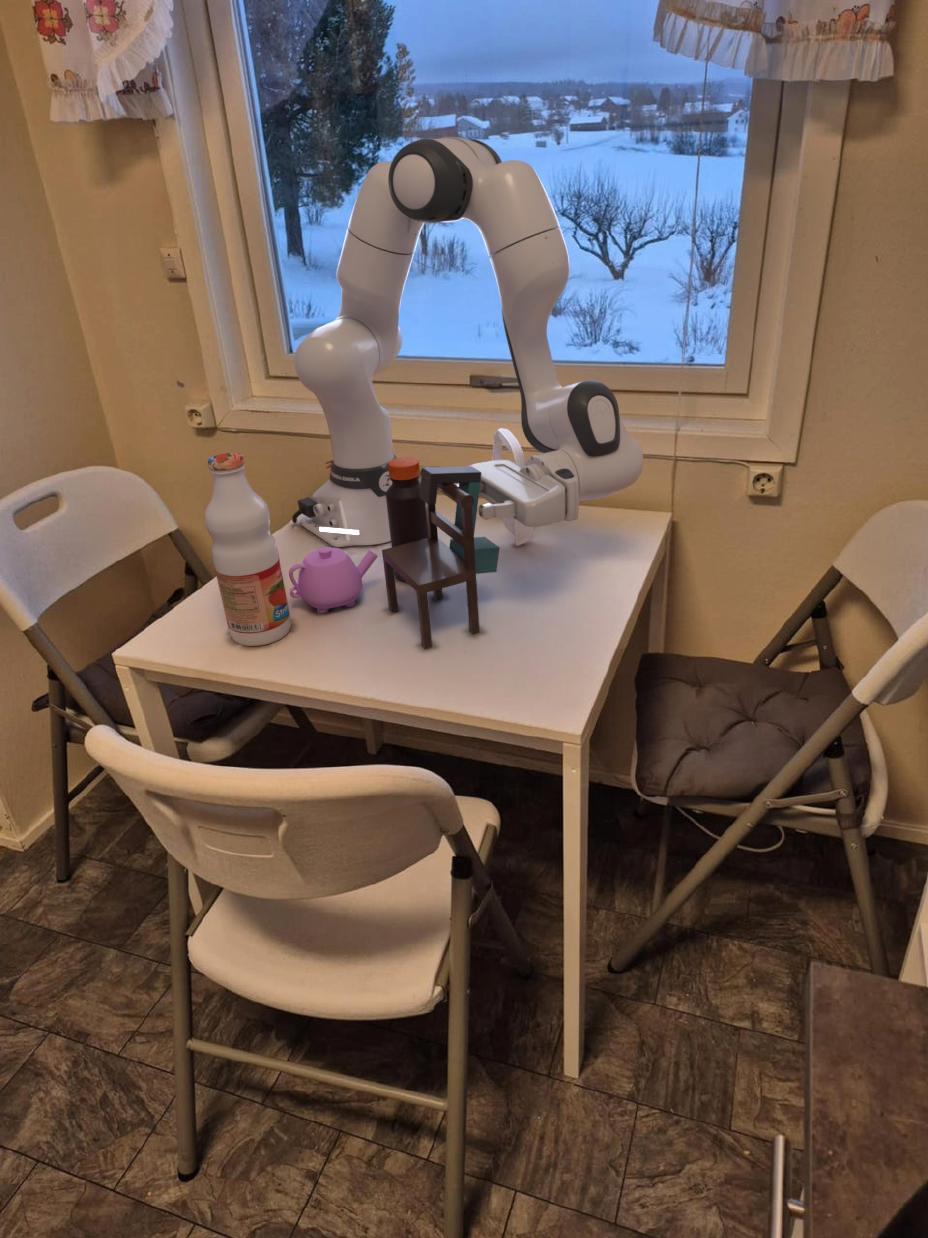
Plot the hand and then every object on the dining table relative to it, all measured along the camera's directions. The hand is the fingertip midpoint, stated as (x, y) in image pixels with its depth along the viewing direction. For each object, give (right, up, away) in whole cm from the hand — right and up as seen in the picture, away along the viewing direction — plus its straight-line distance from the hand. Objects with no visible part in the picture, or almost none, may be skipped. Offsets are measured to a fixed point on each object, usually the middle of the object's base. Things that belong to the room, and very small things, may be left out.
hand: (466, 502), depth 125 cm
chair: (-5, -17, +6) cm, 19 cm away
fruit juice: (-31, -19, +7) cm, 38 cm away
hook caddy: (-1, -9, +4) cm, 11 cm away
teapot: (-21, -14, +14) cm, 29 cm away
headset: (+9, 0, +36) cm, 37 cm away
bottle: (-9, -10, +21) cm, 24 cm away
